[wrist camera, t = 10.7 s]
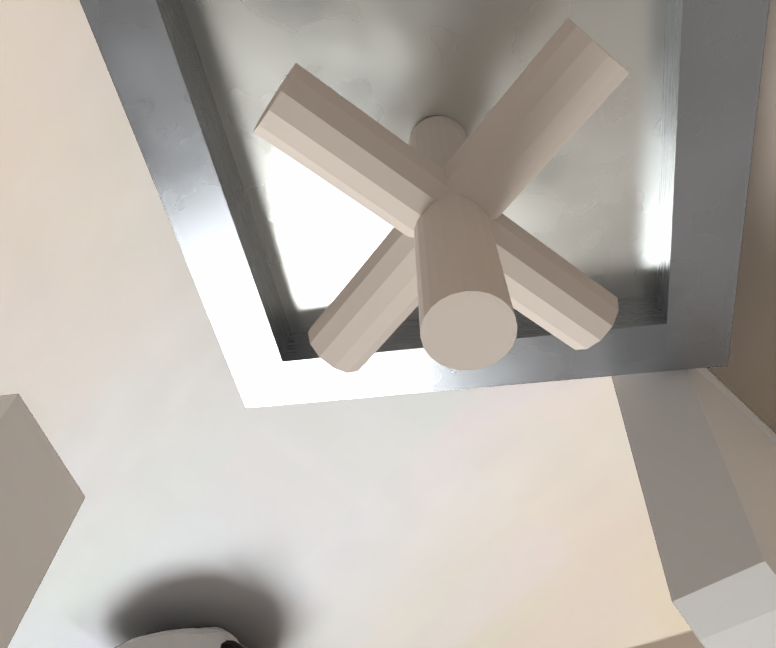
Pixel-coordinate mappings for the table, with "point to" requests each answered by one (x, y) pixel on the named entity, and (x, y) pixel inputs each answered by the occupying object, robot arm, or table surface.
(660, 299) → the square metal tray
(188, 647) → the robot toy
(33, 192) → the table surface
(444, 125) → the pipe connector
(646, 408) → the gravestone
